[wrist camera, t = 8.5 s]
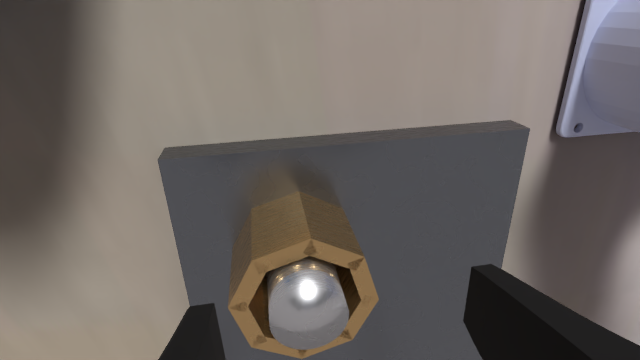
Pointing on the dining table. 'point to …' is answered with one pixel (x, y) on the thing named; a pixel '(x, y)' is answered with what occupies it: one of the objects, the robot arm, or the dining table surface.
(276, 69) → the dining table surface
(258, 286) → the wooden octagonal tube
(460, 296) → the plate
